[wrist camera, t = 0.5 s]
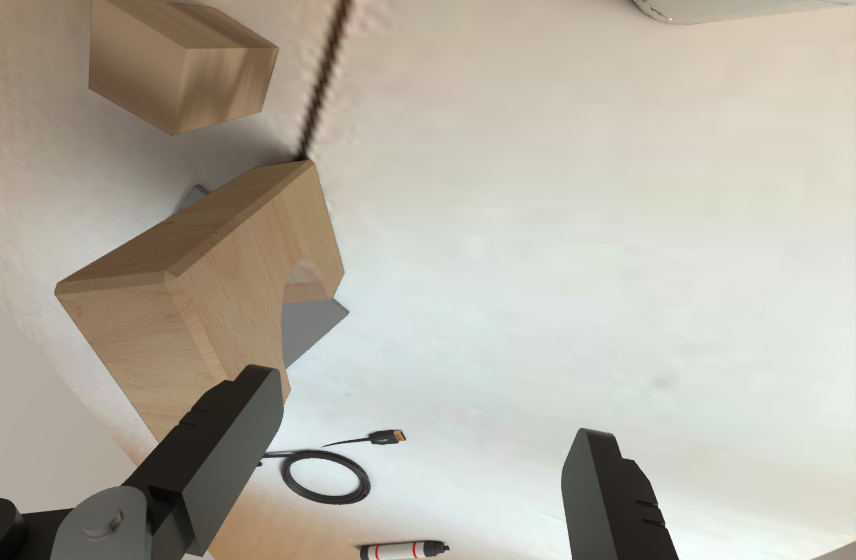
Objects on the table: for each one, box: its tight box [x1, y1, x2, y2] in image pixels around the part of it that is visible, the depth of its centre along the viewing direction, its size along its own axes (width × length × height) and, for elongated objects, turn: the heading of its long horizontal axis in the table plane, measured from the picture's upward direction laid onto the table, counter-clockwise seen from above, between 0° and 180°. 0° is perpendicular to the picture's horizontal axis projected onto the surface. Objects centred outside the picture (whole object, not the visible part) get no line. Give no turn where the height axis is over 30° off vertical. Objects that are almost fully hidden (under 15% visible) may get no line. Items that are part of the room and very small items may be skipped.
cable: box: [257, 430, 406, 505], centre depth 55 cm, size 14×28×2 cm, turn 110°
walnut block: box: [89, 0, 279, 136], centre depth 26 cm, size 5×5×10 cm
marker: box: [360, 541, 450, 560], centre depth 62 cm, size 15×2×2 cm, turn 115°
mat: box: [179, 185, 349, 369], centre depth 43 cm, size 21×18×1 cm
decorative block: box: [54, 160, 345, 443], centre depth 27 cm, size 11×6×20 cm, turn 7°
